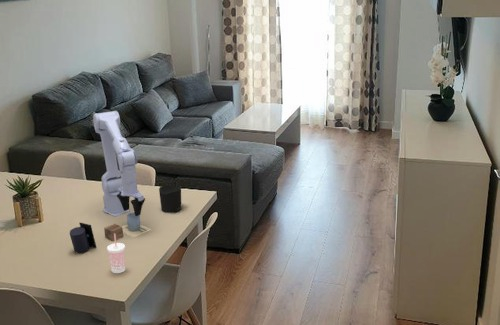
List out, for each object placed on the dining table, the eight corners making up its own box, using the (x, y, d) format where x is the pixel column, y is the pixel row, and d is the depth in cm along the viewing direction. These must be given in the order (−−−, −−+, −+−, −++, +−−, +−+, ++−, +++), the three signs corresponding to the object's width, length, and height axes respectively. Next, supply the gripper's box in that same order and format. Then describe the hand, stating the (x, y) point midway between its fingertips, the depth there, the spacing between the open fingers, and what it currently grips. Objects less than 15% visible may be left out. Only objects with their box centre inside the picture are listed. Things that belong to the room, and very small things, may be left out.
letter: (115, 229, 224) (115, 228, 224) (134, 221, 230) (133, 221, 230) (133, 237, 216) (133, 237, 216) (151, 230, 222) (151, 229, 222)
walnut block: (105, 238, 216) (104, 227, 215) (115, 233, 220) (114, 223, 218) (112, 242, 213) (111, 231, 212) (123, 237, 217) (122, 227, 215)
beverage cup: (126, 273, 190) (122, 237, 185) (108, 274, 190) (103, 238, 185) (128, 264, 196) (124, 229, 191) (111, 265, 195) (107, 230, 191)
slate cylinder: (125, 229, 223) (124, 215, 221) (135, 225, 226) (133, 211, 224) (133, 232, 220) (132, 218, 218) (143, 228, 223) (142, 214, 221)
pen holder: (164, 215, 236) (162, 193, 232) (158, 207, 244) (156, 186, 240) (185, 211, 239) (183, 190, 236) (178, 203, 247) (177, 182, 244)
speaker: (89, 242, 212) (84, 219, 208) (96, 248, 208) (92, 224, 204) (71, 250, 208) (65, 227, 203) (78, 256, 204) (73, 232, 199)
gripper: (109, 179, 218) (113, 210, 222) (131, 188, 209) (134, 220, 213) (124, 174, 223) (127, 205, 227) (146, 183, 213) (149, 215, 218)
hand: (132, 212), depth 221 cm, fingers open, 7 cm apart
